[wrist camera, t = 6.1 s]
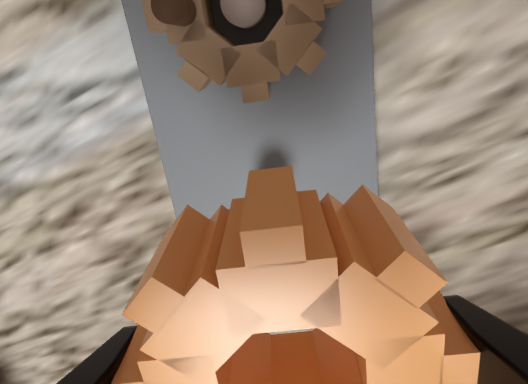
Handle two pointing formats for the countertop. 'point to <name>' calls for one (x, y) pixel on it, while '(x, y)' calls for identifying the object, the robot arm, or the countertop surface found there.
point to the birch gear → (244, 56)
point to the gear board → (263, 110)
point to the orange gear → (293, 297)
